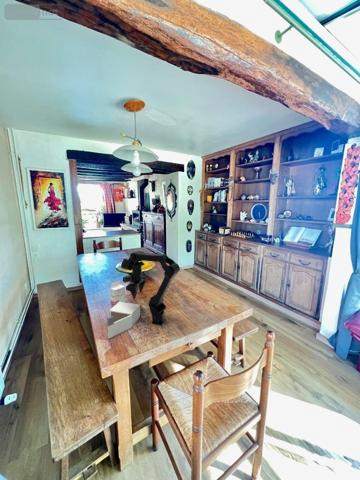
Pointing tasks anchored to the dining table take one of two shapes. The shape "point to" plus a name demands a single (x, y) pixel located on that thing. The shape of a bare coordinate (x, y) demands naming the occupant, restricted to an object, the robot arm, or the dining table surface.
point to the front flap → (118, 325)
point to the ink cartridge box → (117, 293)
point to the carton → (125, 311)
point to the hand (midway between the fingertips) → (137, 295)
